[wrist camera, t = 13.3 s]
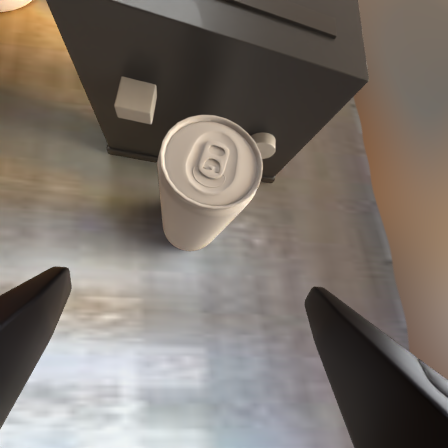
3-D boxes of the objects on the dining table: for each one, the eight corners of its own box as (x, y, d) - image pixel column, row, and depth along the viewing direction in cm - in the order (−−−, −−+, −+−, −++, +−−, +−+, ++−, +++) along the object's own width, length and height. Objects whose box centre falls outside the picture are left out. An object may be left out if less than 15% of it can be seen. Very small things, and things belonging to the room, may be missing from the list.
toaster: (271, 199, 24) (379, 111, 12) (104, 172, 20) (9, 7, 8) (272, 104, 27) (357, -41, 15) (129, 68, 24) (87, -159, 12)
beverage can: (155, 243, 20) (138, 190, 9) (172, 195, 21) (176, 96, 10) (207, 258, 21) (254, 227, 9) (220, 211, 22) (274, 134, 11)
